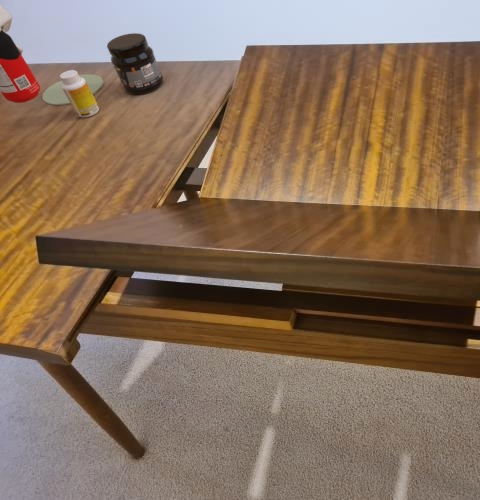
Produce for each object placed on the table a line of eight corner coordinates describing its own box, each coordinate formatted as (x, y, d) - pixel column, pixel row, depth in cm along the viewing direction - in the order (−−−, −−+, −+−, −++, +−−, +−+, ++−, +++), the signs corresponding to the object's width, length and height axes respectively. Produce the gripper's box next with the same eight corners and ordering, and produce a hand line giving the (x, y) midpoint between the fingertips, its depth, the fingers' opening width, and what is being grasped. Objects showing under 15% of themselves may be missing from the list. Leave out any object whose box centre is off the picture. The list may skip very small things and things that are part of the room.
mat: (30, 101, 122) (29, 99, 122) (72, 73, 132) (72, 71, 132) (74, 108, 117) (73, 107, 117) (115, 78, 127) (115, 77, 126)
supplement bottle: (104, 108, 116) (85, 69, 108) (89, 120, 112) (67, 80, 105) (88, 105, 118) (68, 67, 110) (72, 116, 114) (50, 78, 107)
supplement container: (132, 77, 126) (113, 33, 117) (169, 75, 125) (152, 30, 116) (119, 97, 119) (97, 51, 110) (157, 95, 118) (139, 48, 109)
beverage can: (49, 93, 87) (11, 28, 78) (18, 108, 84) (-26, 42, 75) (32, 85, 90) (-6, 21, 81) (1, 100, 86) (-42, 35, 78)
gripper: (-129, 19, 67) (-26, 80, 73) (-38, -28, 81) (42, 27, 87) (-129, 50, 71) (-32, 106, 77) (-43, 0, 85) (34, 51, 90)
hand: (8, 63), depth 82 cm, fingers closed on beverage can, 6 cm apart
